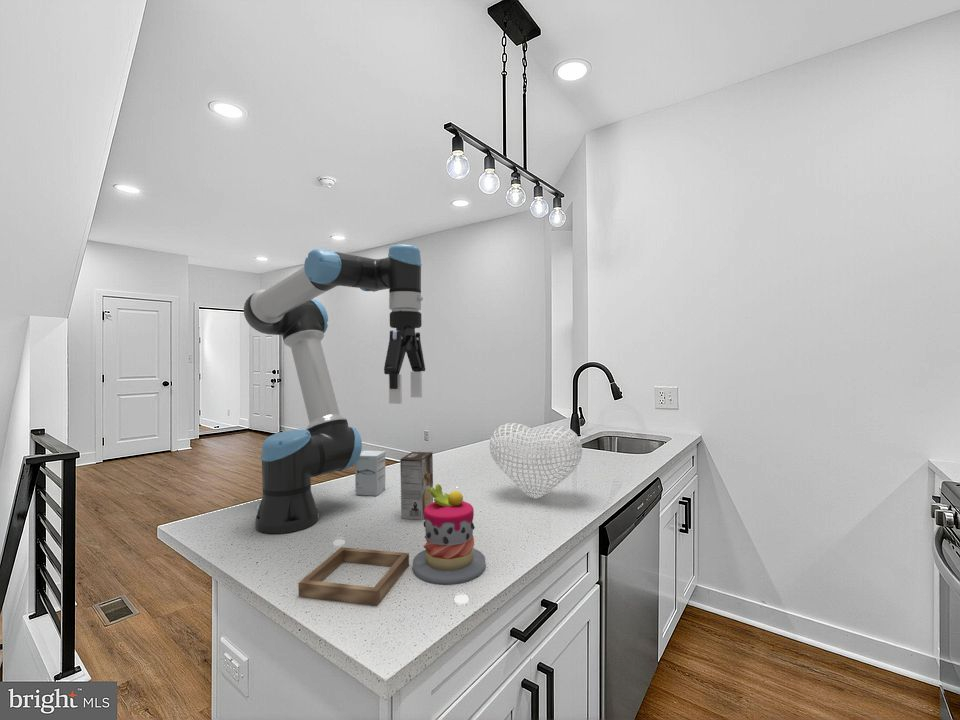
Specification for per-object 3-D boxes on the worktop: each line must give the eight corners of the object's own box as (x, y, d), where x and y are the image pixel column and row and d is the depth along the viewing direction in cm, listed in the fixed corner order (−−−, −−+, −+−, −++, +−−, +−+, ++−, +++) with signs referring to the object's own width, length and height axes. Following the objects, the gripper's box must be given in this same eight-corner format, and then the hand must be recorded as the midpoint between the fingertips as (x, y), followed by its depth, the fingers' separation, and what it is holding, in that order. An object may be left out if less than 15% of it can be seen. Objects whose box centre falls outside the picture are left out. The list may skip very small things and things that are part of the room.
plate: (401, 580, 89) (401, 574, 89) (426, 547, 104) (426, 542, 104) (476, 587, 86) (476, 581, 86) (491, 553, 101) (491, 547, 101)
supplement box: (354, 495, 142) (354, 454, 142) (364, 488, 149) (364, 449, 149) (377, 496, 141) (376, 455, 141) (386, 489, 148) (385, 450, 148)
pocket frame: (298, 596, 84) (298, 582, 84) (341, 558, 99) (341, 547, 99) (377, 605, 80) (377, 591, 80) (409, 565, 96) (408, 553, 95)
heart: (481, 500, 137) (481, 425, 136) (501, 485, 151) (500, 418, 150) (575, 513, 125) (575, 431, 125) (587, 496, 139) (586, 423, 139)
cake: (475, 548, 100) (475, 480, 100) (473, 572, 90) (472, 495, 90) (428, 548, 101) (427, 480, 100) (419, 571, 90) (419, 495, 90)
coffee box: (412, 507, 131) (411, 451, 131) (433, 508, 130) (433, 451, 130) (400, 518, 122) (399, 458, 122) (423, 520, 121) (422, 459, 121)
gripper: (400, 306, 97) (401, 406, 97) (436, 314, 121) (437, 395, 121) (367, 307, 98) (368, 406, 99) (409, 315, 123) (410, 394, 123)
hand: (406, 400), depth 110 cm, fingers open, 13 cm apart
